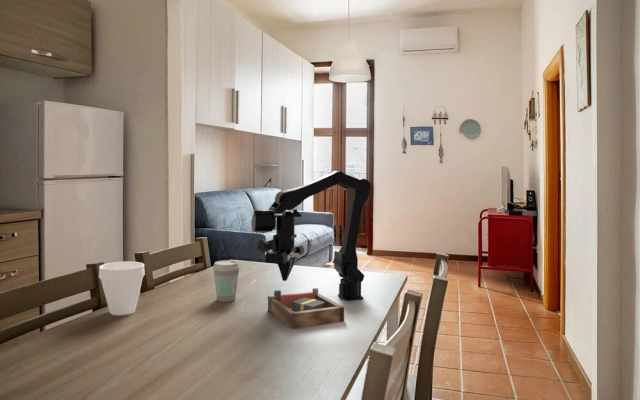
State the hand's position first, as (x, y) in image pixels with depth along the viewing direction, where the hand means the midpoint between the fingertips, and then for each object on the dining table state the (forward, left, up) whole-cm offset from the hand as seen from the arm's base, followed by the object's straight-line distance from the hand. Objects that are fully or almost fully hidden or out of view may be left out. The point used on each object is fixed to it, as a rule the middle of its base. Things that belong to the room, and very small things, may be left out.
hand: (284, 280), depth 150 cm
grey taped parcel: (-3, +12, -7) cm, 15 cm away
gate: (-1, +6, -7) cm, 9 cm away
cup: (+46, -10, -7) cm, 48 cm away
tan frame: (-1, +14, -7) cm, 15 cm away
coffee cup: (+15, -11, -7) cm, 21 cm away
